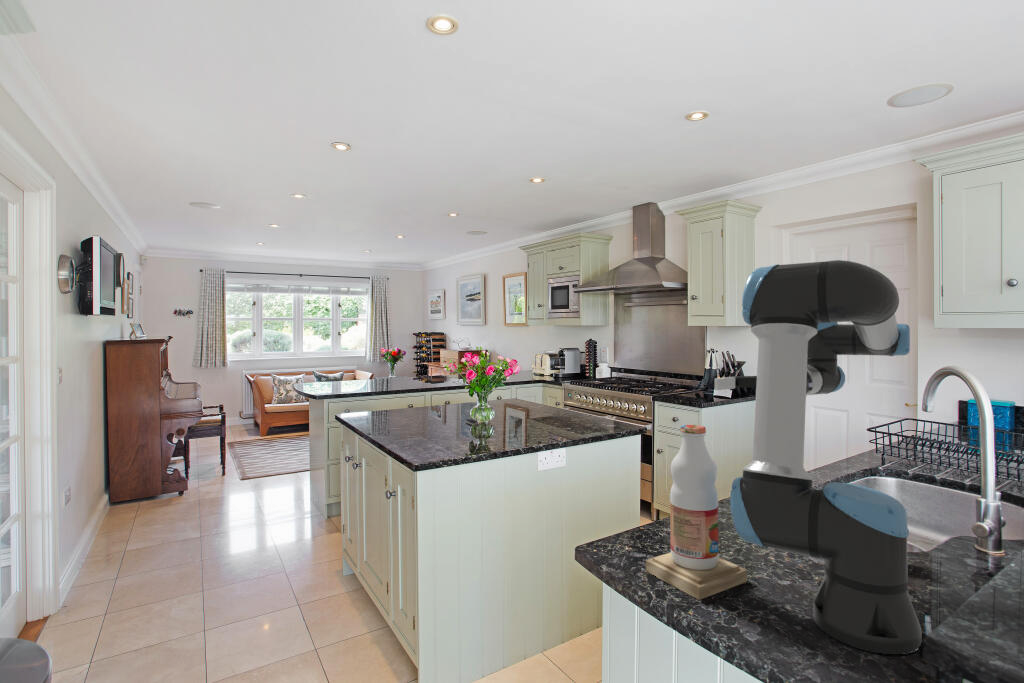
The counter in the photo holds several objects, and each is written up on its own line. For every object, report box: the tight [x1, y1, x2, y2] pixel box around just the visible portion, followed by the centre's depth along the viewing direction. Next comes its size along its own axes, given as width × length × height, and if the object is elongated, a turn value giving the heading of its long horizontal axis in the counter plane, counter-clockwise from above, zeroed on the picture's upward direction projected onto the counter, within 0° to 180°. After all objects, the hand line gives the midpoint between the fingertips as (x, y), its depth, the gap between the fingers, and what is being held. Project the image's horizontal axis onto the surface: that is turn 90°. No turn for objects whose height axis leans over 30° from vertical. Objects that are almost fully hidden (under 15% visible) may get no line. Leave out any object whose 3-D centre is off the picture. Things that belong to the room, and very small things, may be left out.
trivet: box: [645, 551, 748, 601], centre depth 108 cm, size 14×14×3 cm
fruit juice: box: [669, 424, 720, 570], centre depth 108 cm, size 9×9×28 cm
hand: (740, 386), depth 118 cm, fingers open, 13 cm apart
